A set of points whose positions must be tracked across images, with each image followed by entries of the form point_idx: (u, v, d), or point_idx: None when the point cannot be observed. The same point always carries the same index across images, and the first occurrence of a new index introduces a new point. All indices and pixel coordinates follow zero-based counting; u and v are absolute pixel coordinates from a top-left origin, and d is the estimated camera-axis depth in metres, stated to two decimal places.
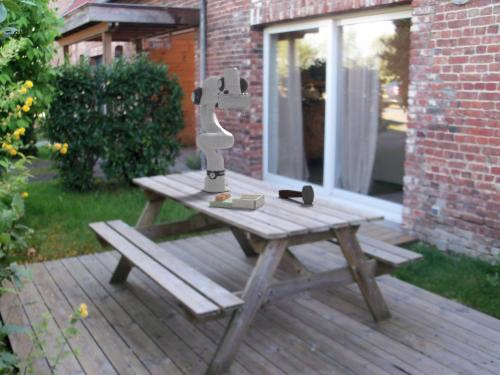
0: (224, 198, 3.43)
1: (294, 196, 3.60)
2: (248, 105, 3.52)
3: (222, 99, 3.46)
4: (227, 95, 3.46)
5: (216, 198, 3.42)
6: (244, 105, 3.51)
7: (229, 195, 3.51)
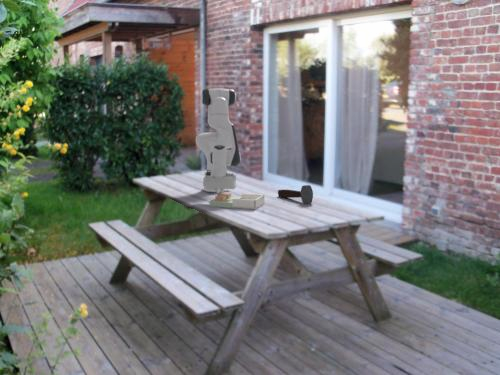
0: (224, 198, 3.43)
1: (293, 196, 3.61)
2: (231, 187, 3.48)
3: (205, 180, 3.52)
4: (209, 176, 3.50)
5: (216, 198, 3.42)
6: (227, 187, 3.48)
7: (230, 195, 3.51)
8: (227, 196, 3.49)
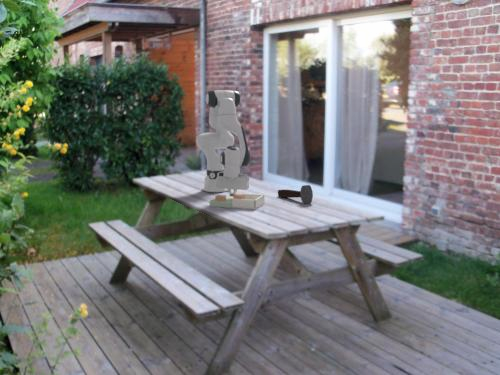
0: (224, 198, 3.43)
1: (293, 196, 3.61)
2: (244, 188, 3.45)
3: (218, 180, 3.49)
4: (222, 177, 3.47)
5: (216, 198, 3.42)
6: (239, 188, 3.46)
7: (242, 196, 3.49)
8: (240, 197, 3.46)
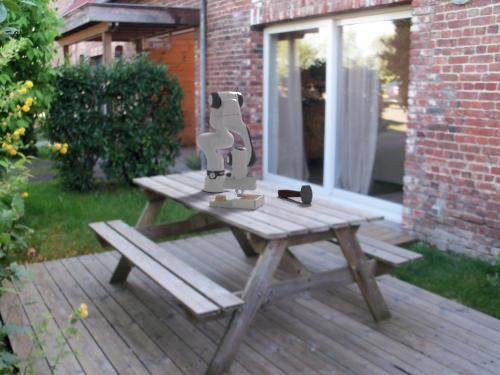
0: (224, 198, 3.43)
1: (293, 196, 3.61)
2: (251, 188, 3.44)
3: (225, 181, 3.48)
4: (230, 178, 3.46)
5: (216, 198, 3.42)
6: (247, 188, 3.45)
7: None
8: None
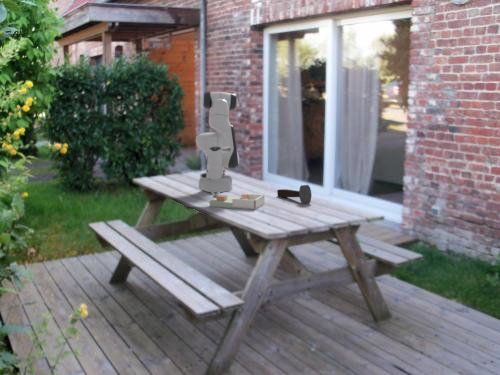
0: (225, 198, 3.43)
1: (292, 196, 3.61)
2: (227, 189, 3.40)
3: (201, 182, 3.44)
4: (205, 178, 3.42)
5: (217, 198, 3.42)
6: (223, 189, 3.41)
7: None
8: None
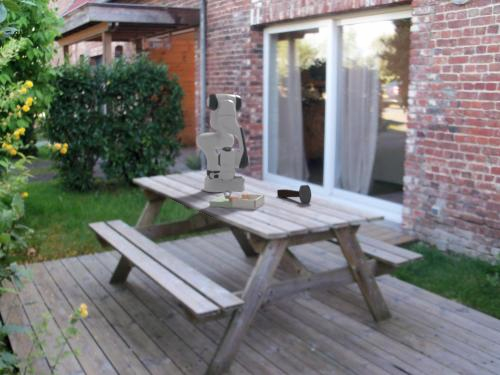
0: None
1: (292, 195, 3.61)
2: (239, 190, 3.38)
3: (213, 182, 3.42)
4: (217, 179, 3.40)
5: (229, 199, 3.40)
6: (235, 190, 3.39)
7: None
8: None
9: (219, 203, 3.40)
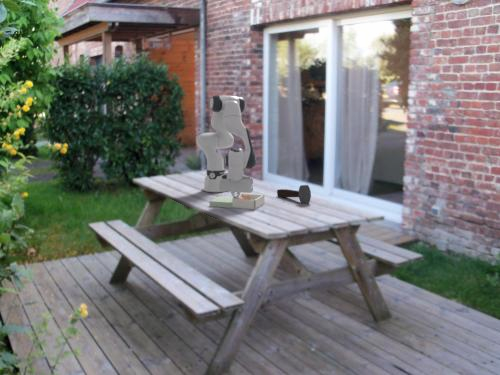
0: None
1: (291, 195, 3.61)
2: (247, 191, 3.36)
3: (221, 183, 3.40)
4: (225, 180, 3.38)
5: None
6: (243, 190, 3.37)
7: None
8: None
9: (219, 203, 3.40)
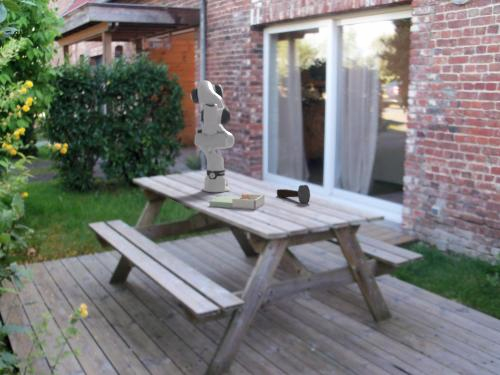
0: None
1: (291, 195, 3.62)
2: (222, 145, 3.47)
3: (196, 138, 3.51)
4: (201, 134, 3.49)
5: None
6: (218, 144, 3.48)
7: None
8: None
9: (219, 203, 3.40)
